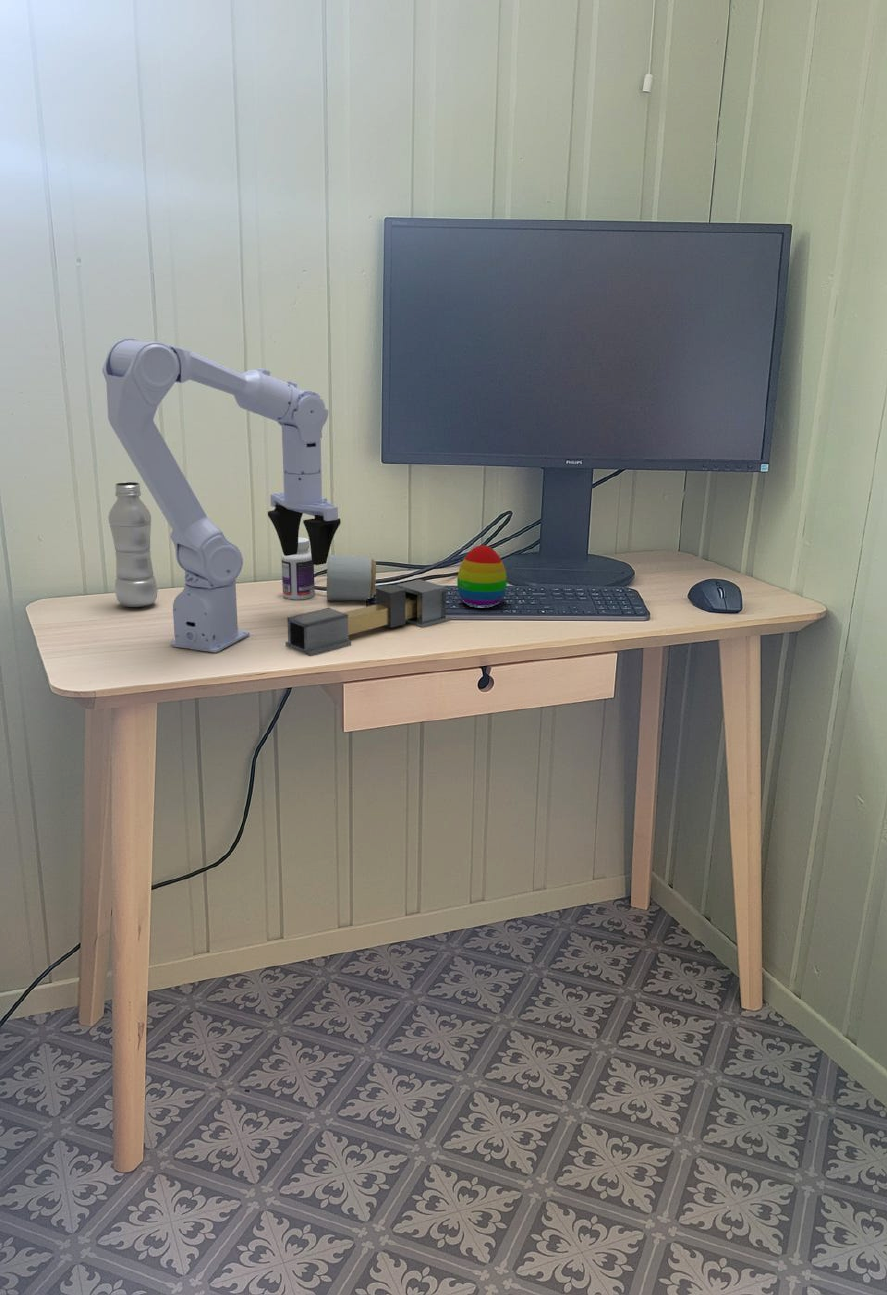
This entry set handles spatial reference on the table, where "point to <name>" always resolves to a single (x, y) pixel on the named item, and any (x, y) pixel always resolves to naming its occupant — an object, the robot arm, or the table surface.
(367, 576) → the ceramic mug
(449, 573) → the table surface
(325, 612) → the steel sleeve
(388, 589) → the two-tone block
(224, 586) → the robot arm
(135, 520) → the plastic bottle
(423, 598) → the grey square bracket
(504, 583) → the decorative egg
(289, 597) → the pill bottle
